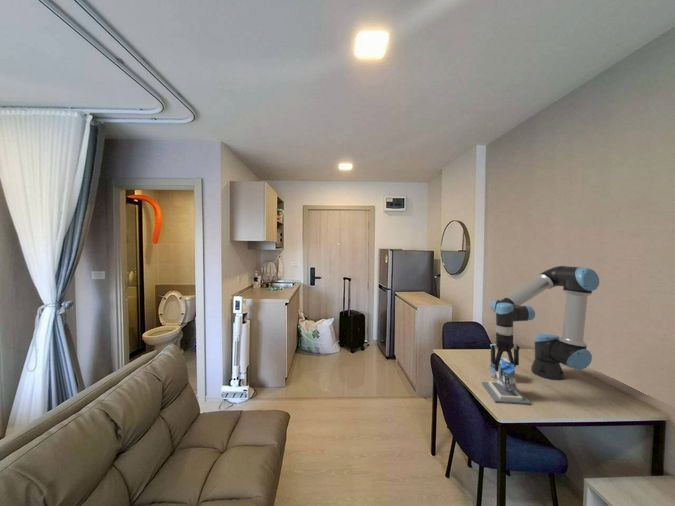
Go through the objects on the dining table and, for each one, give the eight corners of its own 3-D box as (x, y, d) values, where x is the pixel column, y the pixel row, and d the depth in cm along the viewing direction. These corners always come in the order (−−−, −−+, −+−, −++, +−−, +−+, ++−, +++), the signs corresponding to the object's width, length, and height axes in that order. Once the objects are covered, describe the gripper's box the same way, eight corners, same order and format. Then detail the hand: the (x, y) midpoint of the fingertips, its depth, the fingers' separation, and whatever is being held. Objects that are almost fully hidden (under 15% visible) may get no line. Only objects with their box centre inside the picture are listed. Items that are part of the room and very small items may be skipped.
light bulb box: (490, 376, 158) (490, 358, 158) (493, 372, 163) (492, 355, 163) (511, 382, 151) (511, 363, 150) (513, 378, 156) (513, 359, 155)
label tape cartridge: (497, 384, 143) (494, 360, 144) (503, 383, 143) (501, 359, 144) (510, 390, 134) (507, 365, 135) (517, 389, 135) (514, 364, 136)
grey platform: (513, 385, 148) (513, 381, 148) (531, 405, 130) (531, 400, 130) (481, 383, 150) (481, 379, 150) (495, 402, 132) (495, 397, 132)
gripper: (520, 331, 141) (520, 375, 142) (482, 330, 144) (483, 373, 145) (527, 336, 134) (527, 382, 135) (488, 335, 137) (488, 380, 138)
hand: (504, 377), depth 140 cm, fingers open, 5 cm apart
